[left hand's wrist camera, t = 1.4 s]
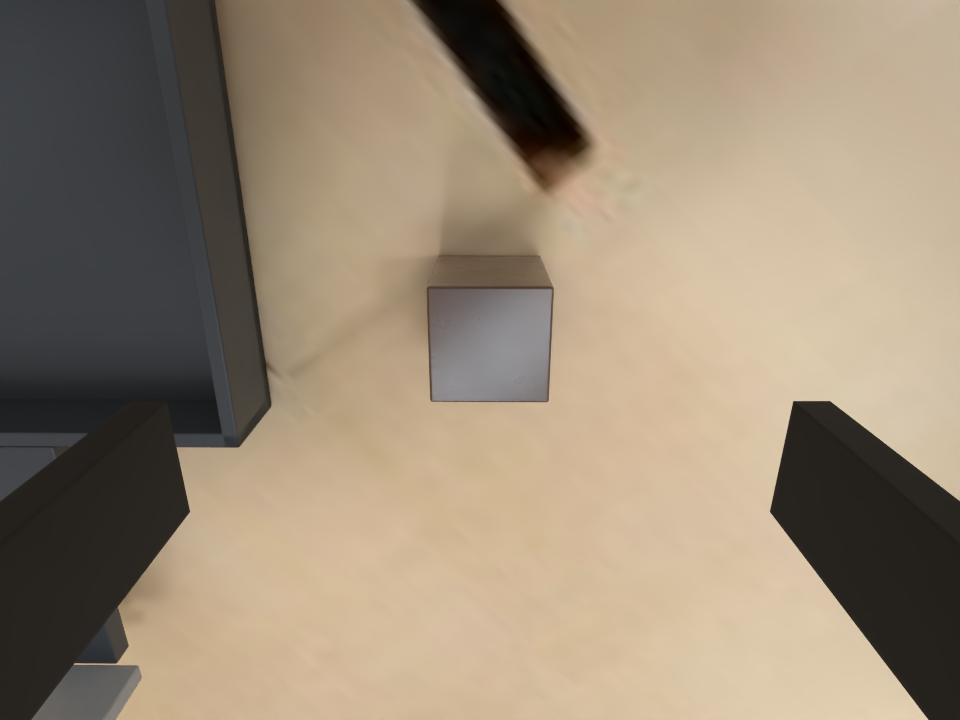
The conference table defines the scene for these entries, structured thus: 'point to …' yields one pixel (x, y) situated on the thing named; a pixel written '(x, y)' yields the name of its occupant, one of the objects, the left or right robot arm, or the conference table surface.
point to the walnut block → (489, 329)
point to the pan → (119, 253)
